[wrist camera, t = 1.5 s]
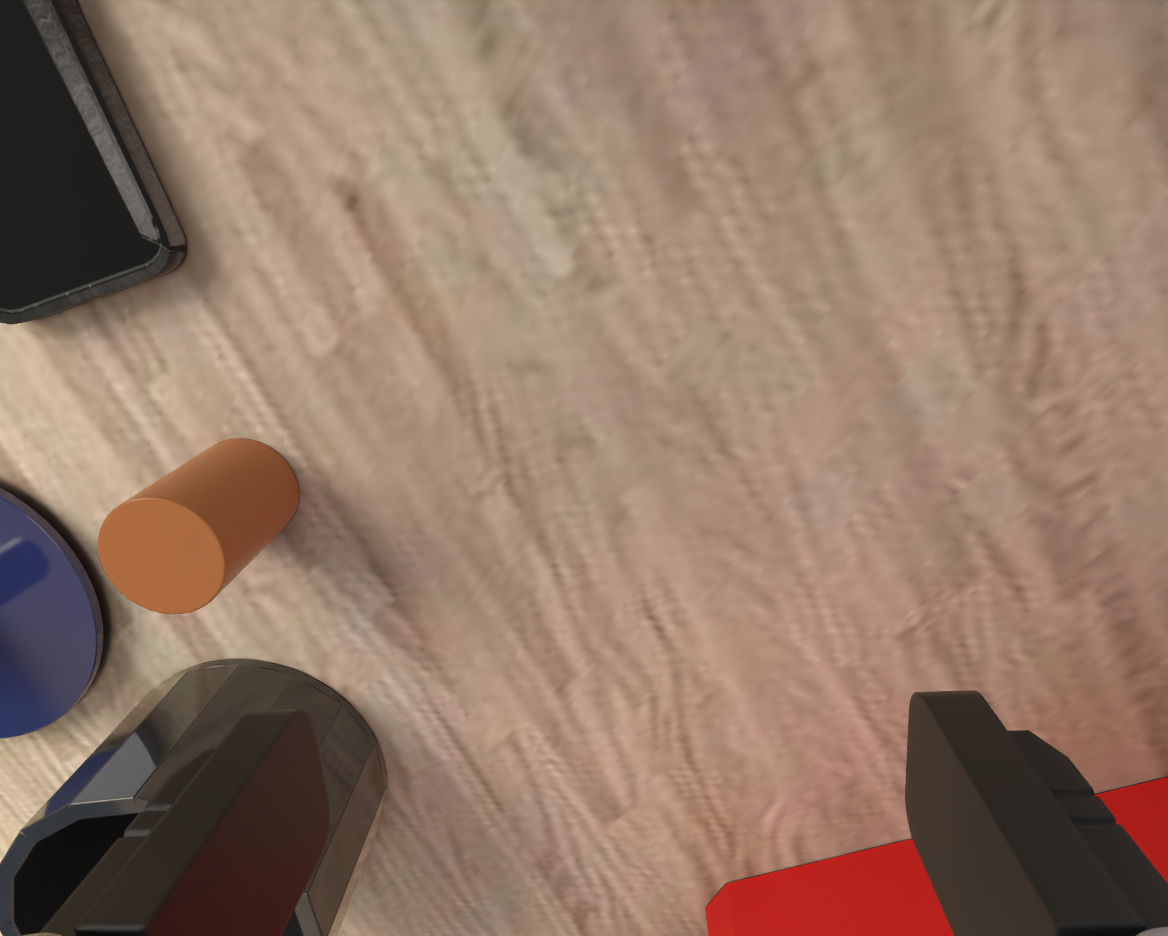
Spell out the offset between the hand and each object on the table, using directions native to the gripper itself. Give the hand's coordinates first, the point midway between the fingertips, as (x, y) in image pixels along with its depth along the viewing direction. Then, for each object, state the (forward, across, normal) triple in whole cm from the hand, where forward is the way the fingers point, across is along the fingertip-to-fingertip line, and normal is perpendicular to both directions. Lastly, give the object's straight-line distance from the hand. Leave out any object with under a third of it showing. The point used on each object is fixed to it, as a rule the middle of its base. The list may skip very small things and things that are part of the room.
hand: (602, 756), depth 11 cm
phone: (+20, +21, -13) cm, 31 cm away
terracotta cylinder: (+20, +15, +2) cm, 26 cm away
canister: (+21, +18, +16) cm, 32 cm away
